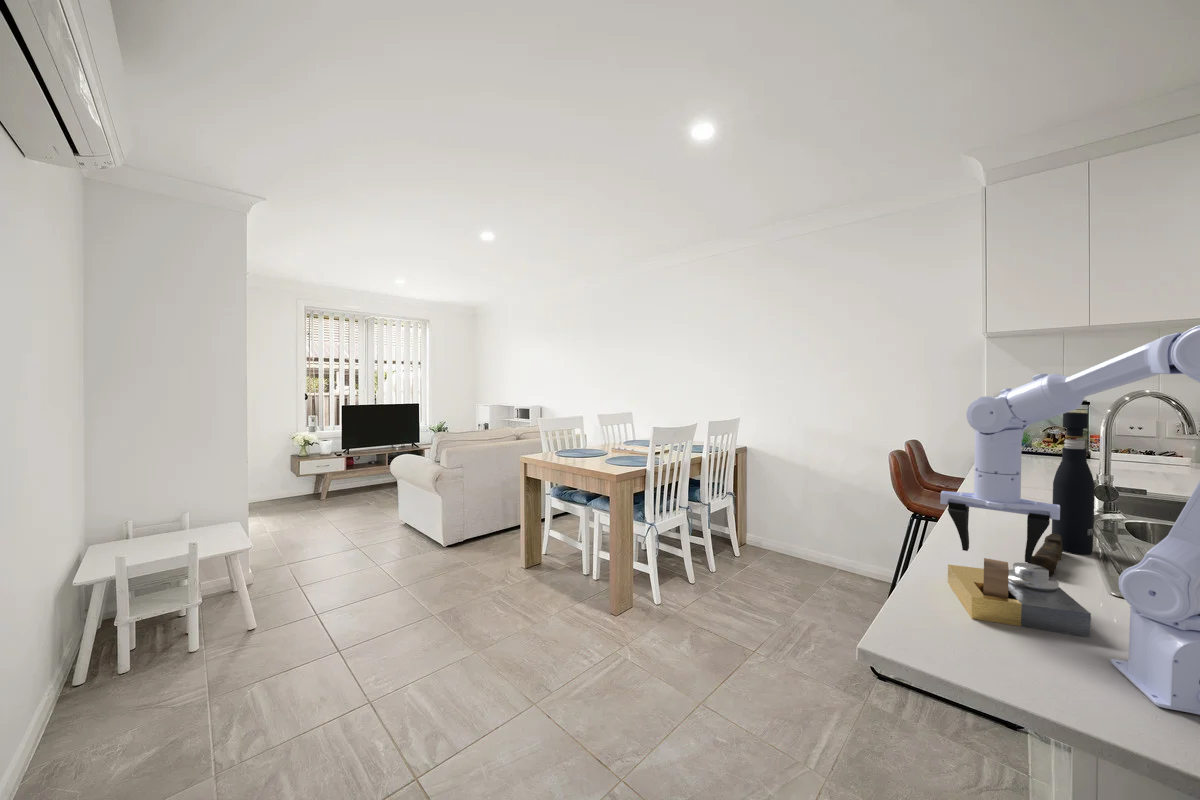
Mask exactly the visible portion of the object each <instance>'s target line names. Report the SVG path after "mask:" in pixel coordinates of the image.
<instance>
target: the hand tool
mask: <svg viewBox="0 0 1200 800" xmlns="http://www.w3.org/2000/svg"><path fill="white" fill-rule="evenodd" d="M1062 550H1063V547H1062V537H1061V535H1059V534H1052V533H1050V534H1049V535H1046V536H1045V538H1044V542H1043V544H1042V546H1041V547H1040V548H1039V549H1038V550H1037V551H1036V553H1035V554H1034V555H1032V558H1031V563H1029V564H1034V565H1038V566H1041V567H1044V568H1046V569H1047V570H1048V571H1049V577H1051V578H1052V577H1053V576H1054V575H1055V574H1056V573H1055V571H1056V570H1057V566H1058V563H1059V561H1061V560H1062V556H1063V551H1062ZM1026 563H1028V562H1026Z"/></svg>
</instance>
